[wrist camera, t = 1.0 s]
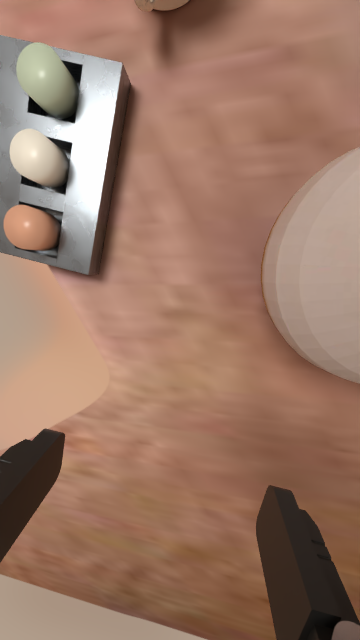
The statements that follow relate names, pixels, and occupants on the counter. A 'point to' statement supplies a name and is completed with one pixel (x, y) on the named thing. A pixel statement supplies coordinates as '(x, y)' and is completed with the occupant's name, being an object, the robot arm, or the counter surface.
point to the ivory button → (39, 159)
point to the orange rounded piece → (31, 228)
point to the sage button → (47, 80)
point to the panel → (78, 144)
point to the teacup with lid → (159, 4)
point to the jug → (319, 269)
